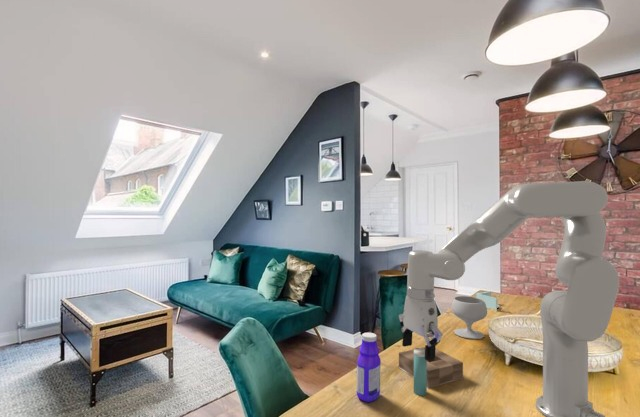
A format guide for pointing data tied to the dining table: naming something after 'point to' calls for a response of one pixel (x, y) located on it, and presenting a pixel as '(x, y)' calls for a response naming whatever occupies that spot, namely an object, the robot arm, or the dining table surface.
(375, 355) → the bottle
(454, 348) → the dining table surface
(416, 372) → the peg
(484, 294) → the l-shaped corner panel
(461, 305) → the chalice
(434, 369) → the socket block
